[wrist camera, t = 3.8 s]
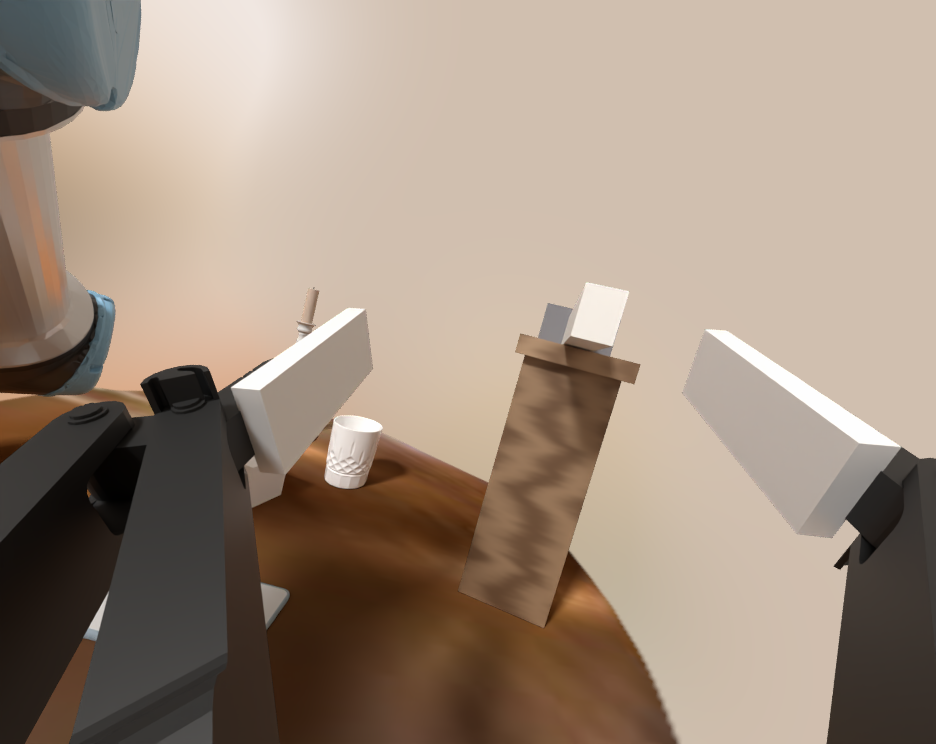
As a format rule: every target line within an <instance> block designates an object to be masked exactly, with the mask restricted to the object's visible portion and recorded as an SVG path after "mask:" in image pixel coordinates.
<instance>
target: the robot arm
mask: <svg viewBox="0 0 936 744" xmlns="http://www.w3.org/2000/svg"><path fill="white" fill-rule="evenodd" d="M140 24H141V0H0V393H17V394H36V395H39V396H40V395H42V396H46V397H50V396H55V395H81V394H85V393H87V392H89V391H90V390H92V389H93V388H94V387H95V386H96V384H97V382H98V380H99V378H100V376H101V373H102V369H103V364H104V362H105V360H106V358H107V354H108V351H109V347H110V343H111V338H112V333H113V327H114V321H115V305H114V302H113V300H112V299H111V298H109V297H107V296H105V295H100V294H97V293H96V292H94V291H90V290H86V289H85V287H84V286H83V285H82V284H81V283H80V282H79V281H78V279H77V278H75V277H74V276H73V275H72V274H71V273H69V272H68V271H67V270H66V267H65V258H64V250H63V242H62V233H61V225H60V216H59V208H58V200H57V191H56V183H55V175H54V167H53V158H52V150H51V141H50V132H53V131H55V130H58V129H60V128H62V127H64V126H65V125H67V124H69V123H70V122H72V121H73V120H74V119H75V118H76V117H77V116H78V115H79V114H80V113H81V112H82V111H83V109H84V107H85V106H90V107H92V108H94V109H95V110H98V111H110V110H115V109H117V108H119V107H121V106H122V104H123V103H124V102H125V101H126V99H127V97H128V94H129V91H130V89H131V86H132V84H133V79H134V75H135V69H136V60H137V55H138V48H139V38H140ZM366 316H367V315H366V309H357V308H347V309H346V310H344V311H343V312H341V313H340V314H338V315H337V316H335V317H334V318H332V319H331V320H330V321H328V322H327V323H325V324H324V325H322V326H321V327H319V328H318V329H316V330H315V331H313V332H312V333H310V334H309V335H307V336H306V337H304V338H303V339H302V340H300V341H299V342H297V343H296V344H294V345H293V346H291V347H290V348H288V349H287V350H285V351H284V352H282V353H281V354H279V355H278V356H277V357H275V358H273V359H270V360H267V361H265V362H263V363H261V364H260V365H258V366H257V367H255V368H254V369H253V371H249V372H248V373H246V374H245V375H244V376H243V377H241V378H239V379H237V380H236V381H234V382H233V383H232V384H230V385H228V386H227V387H226V388H224V389H222V390H221V391H219V392H217V390H216V387H215V384H214V381H213V379H212V376H211V373H210V371H209V369H208V368H207V367H205V366H202V365H186V366H178V367H174V368H170V369H166V370H163V371H160V372H158V373H155V374H153V375H151V376H149V377H148V378H146V379H144V381H143V382H142V383H141V384H140V385H141V387H142V389H143V391H144V393H145V395H146V397H147V399H148V401H149V403H150V406H151V408H152V410H153V412H154V414H155V415H154V416H145V417H134V418H131V416H130V414H129V412H128V410H127V408H126V406H125V405H124V404H123V403H122V402H117V401H108V402H100V403H89V404H85V405H84V406H79V407H76V408H74V409H73V410H71V411H69V412H67V413H65V414H62V415H61V416H59V417H57V418H56V419H54V420H53V421H51V422H50V423H49V424H48V425H47V426H45V427H44V428H43V429H42V430H41V431H39V432H38V433H37V434H36V435H35V436H33V437H32V438H31V439H30V440H29V441H27V442H26V443H25V444H24V445H23V446H21V447H20V448H19V449H18V450H17V451H15V452H14V453H13V454H12V455H11V456H9V457H8V458H7V459H6V460H5V461H3V462H2V463H1V464H0V744H25V742H26V740H27V738H28V737H29V735H30V733H31V731H32V729H33V728H34V726H35V724H36V722H37V720H38V719H39V717H40V715H41V713H42V711H43V709H44V708H45V706H46V704H47V702H48V700H49V699H50V697H51V695H52V693H53V691H54V690H55V688H56V686H57V684H58V682H59V681H60V679H61V677H62V675H63V673H64V672H65V670H66V668H67V666H68V664H69V662H70V661H71V659H72V657H73V655H74V653H75V652H76V650H77V648H78V646H79V644H80V643H81V641H82V639H83V637H84V635H85V634H86V632H87V630H88V628H89V626H90V624H91V623H92V621H93V619H94V617H95V615H96V614H97V612H98V610H99V608H100V606H101V605H102V603H103V601H104V599H105V597H106V596H107V594H108V597H107V601H106V605H105V609H104V613H103V617H102V620H101V624H100V628H99V632H98V636H97V640H96V644H95V648H94V652H93V655H92V659H91V663H90V667H89V671H88V675H87V679H86V683H85V687H84V690H83V694H82V698H81V702H80V706H79V710H78V714H77V718H76V721H75V725H74V729H73V733H72V736H71V739H70V742H69V744H280V741H279V733H278V725H277V716H276V708H275V699H274V691H273V682H272V674H271V666H270V657H269V649H268V640H267V632H266V623H265V615H264V607H263V598H262V590H261V581H260V573H259V564H258V556H257V548H256V539H255V531H254V522H253V514H252V505H251V497H250V489H249V480H248V474H247V471H246V469H245V466H244V465H245V464H246V463H247V462H248V461H249V460H250V459H251V458H252V457H253V456H254V457H255V460H256V463H257V465H258V468H259V471H260V472H263V473H272V474H280V475H286V474H287V472H288V471H289V470H290V469H291V467H292V466H293V465H294V464H295V463H296V461H297V460H298V459H299V458H300V457H301V455H302V454H303V453H304V452H305V450H306V449H307V448H308V447H309V446H310V444H311V443H312V442H313V441H314V440H315V438H316V437H317V436H318V435H319V433H320V432H321V431H322V430H323V429H324V427H325V426H326V425H327V424H328V423H329V421H330V420H331V419H332V418H333V417H334V415H335V414H336V413H337V412H338V410H339V409H340V408H341V407H342V405H343V404H344V403H345V402H346V401H347V400H348V398H349V397H350V396H351V394H352V393H353V392H354V391H355V390H356V389H357V387H358V386H359V385H360V384H361V383H362V381H363V380H364V379H365V378H366V376H367V375H368V374H369V373H370V372H371V370H372V369H373V365H372V357H371V349H370V341H369V333H368V324H367V317H366ZM682 393H683V395H684V396H685V397H686V398H687V400H688V401H689V402H690V403H691V405H693V407H694V408H695V409H696V411H697V412H698V413H699V414H700V416H701V417H702V418H703V419H704V421H705V422H706V423H707V424H708V425H709V427H710V428H711V429H712V430H713V432H714V433H715V434H716V435H717V436H718V438H719V439H720V440H721V441H722V443H723V444H724V445H725V446H726V448H727V449H728V450H729V451H730V452H731V454H732V455H733V456H734V457H735V459H736V460H737V461H738V462H739V463H740V465H741V466H742V467H743V468H744V470H745V471H746V472H747V473H748V475H749V476H750V477H751V478H752V479H753V481H754V482H755V483H756V484H757V486H758V487H759V488H760V489H761V491H762V492H763V493H764V494H765V495H766V497H767V498H768V499H769V500H770V502H771V503H772V504H773V505H774V507H775V508H776V509H777V510H778V511H779V513H780V514H781V515H782V516H783V518H784V519H785V520H786V521H787V523H788V524H789V525H790V526H791V527H792V528H793V530H794V531H795V532H796V533H797V534H801V535H809V536H819V537H827V538H833V536H834V534H836V532H837V531H838V530H839V528H840V527H841V526H842V524H843V523H844V522H845V520H846V519H847V520H848V521H849V522H850V523H851V524H852V525H853V526H854V527H855V528H856V529H857V530H858V531H859V532H860V534H859V535H858V537H857V538H856V539H855V540H854V541H853V543H852V544H851V545H850V546H849V548H848V549H847V550H846V552H845V553H844V554H843V555H842V556H841V558H840V559H839V560H838V561H837V563H836V564H835V565H834V567H836V568H838V569H841V568H842V567H843V566H844V565H848V572H847V580H846V588H845V596H844V605H843V613H842V621H841V630H840V638H839V646H838V655H837V663H836V671H835V680H834V688H833V696H832V704H831V713H830V721H829V729H828V737H827V744H936V459H934V458H925V459H919V458H917V457H916V456H914V455H913V454H911V453H910V452H908V451H907V450H905V449H904V448H902V447H901V446H899V445H898V444H896V443H895V442H893V441H892V440H890V439H889V438H887V437H886V436H884V435H883V434H881V433H880V432H878V431H877V430H875V429H874V428H872V427H871V426H869V425H868V424H866V423H865V422H863V421H862V420H860V419H859V418H857V417H856V416H854V415H853V414H851V413H850V412H848V411H847V410H845V409H844V408H842V407H841V406H839V405H838V404H836V403H835V402H833V401H832V400H830V399H829V398H827V397H826V396H824V395H823V394H821V393H820V392H818V391H816V390H815V389H814V388H812V387H810V386H809V385H807V384H806V383H805V382H803V381H802V380H800V379H798V378H797V377H796V376H794V375H792V374H791V373H789V372H788V371H787V370H785V369H783V368H782V367H781V366H779V365H777V364H776V363H775V362H773V361H772V360H770V359H769V358H767V357H766V356H764V355H763V354H761V353H760V352H758V351H756V350H755V349H753V348H752V347H751V346H749V345H747V344H746V343H745V342H743V341H741V340H740V339H739V338H737V337H735V336H734V335H732V334H731V333H730V332H728V331H723V330H705V331H704V333H703V336H702V339H701V341H700V344H699V347H698V350H697V353H696V356H695V358H694V361H693V364H692V367H691V370H690V372H689V375H688V378H687V381H686V384H685V386H684V389H683V392H682ZM87 489H88V490H89V492H90V493H91V496H90V497H89V498H88V495H87ZM108 592H109V593H108Z"/></svg>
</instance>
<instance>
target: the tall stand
mask: <svg viewBox="0 0 936 744" xmlns="http://www.w3.org/2000/svg"><path fill="white" fill-rule="evenodd" d="M515 352H517V353H520V354H524V355H525V357H524V360H523V364H522V367H521V371H520V374H519V378H518V381H517V385H516V388H515V392H514V395H513V399H512V403H511V406H510V409H509V413H508V417H507V420H506V424H505V427H504V431H503V435H502V438H501V441H500V445H499V448H498V452H497V456H496V459H495V462H494V466H493V469H492V473H491V477H490V480H489V483H488V487H487V491H486V494H485V498H484V501H483V505H482V508H481V512H480V515H479V519H478V522H477V526H476V529H475V533H474V536H473V540H472V543H471V547H470V550H469V554H468V557H467V561H466V564H465V568H464V572H463V575H462V579H461V582H460V586H459V589H458V591H459V592H461V593H463V594H466V595H468V596H470V597H473V598H475V599H477V600H480V601H482V602H484V603H486V604H489V605H491V606H493V607H496V608H498V609H500V610H503V611H505V612H507V613H510V614H512V615H514V616H517V617H519V618H521V619H524V620H526V621H528V622H531V623H533V624H535V625H537V626H540V627H542V628H544V627H545V624H546V620H547V617H548V614H549V611H550V608H551V604H552V601H553V598H554V595H555V592H556V588H557V585H558V582H559V579H560V576H561V572H562V569H563V566H564V563H565V560H566V557H567V553H568V550H569V547H570V543H571V541H572V537H573V534H574V531H575V528H576V524H577V521H578V518H579V515H580V512H581V509H582V505H583V502H584V499H585V496H586V493H587V489H588V486H589V483H590V480H591V477H592V473H593V470H594V467H595V464H596V461H597V457H598V454H599V451H600V448H601V445H602V441H603V438H604V435H605V432H606V429H607V426H608V422H609V419H610V416H611V413H612V410H613V406H614V403H615V400H616V397H617V394H618V390H619V387H620V384H621V381H624V382H628V383H632V384H634V383H635V380H636V377H637V374H638V371H639V367H640V364H636V363H633V362H629V361H625V360H621V359H617V358H613V357H609V356H606V355H602V354H598V353H594V352H590V351H586V350H582V349H578V348H575V347H571V346H567V345H563V344H559V343H555V342H551V341H547V340H544V339H540V338H535V337H532V336H528V335H524V334H520V337H519V340H518V344H517V347H516V351H515Z"/></svg>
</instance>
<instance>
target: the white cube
mask: <svg viewBox="0 0 936 744" xmlns="http://www.w3.org/2000/svg"><path fill="white" fill-rule="evenodd" d="M244 466H245V469H246V471H247V474H248V480H249V489H250V497H251V505H252V508H253V507H255V506H257V505H260V504H262V503H264V502H266V501H268V500H270V499H273V498H275V497H277V496H279V495H281V492H282V488H283V483H284V479H285V475H280V474H272V473H263V472H260V471H259V468H258V465H257V463H256V460H255V457H254V456H253V457H252V458H251V459H250V460H249V461H248V462H247V463H246V464H245V465H244Z"/></svg>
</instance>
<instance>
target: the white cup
mask: <svg viewBox="0 0 936 744" xmlns="http://www.w3.org/2000/svg"><path fill="white" fill-rule="evenodd" d="M382 429H383V427H382V425H381V424H379V423H378V422H376V421H374V420H371V419H368V418H364V417H359V416H352V415H351V416H350V415H345V416H344V415H343V416H338V417H336V418H334V422H333V427H332V433H331V438H330V443H329V449H328V455H327V465H326V470H325V481H327V482H328V483H329V484H330V485H332V486H335V487H338V488H344V489H354V488H359V487H361V486H363V485H364V484H365V482H366V480H367V477H368V473H369V470H370V468H371V465H372V462H373V459H374V456H375V453H376V449H377V446H378V443H379V439H380V436H381V433H382Z"/></svg>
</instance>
